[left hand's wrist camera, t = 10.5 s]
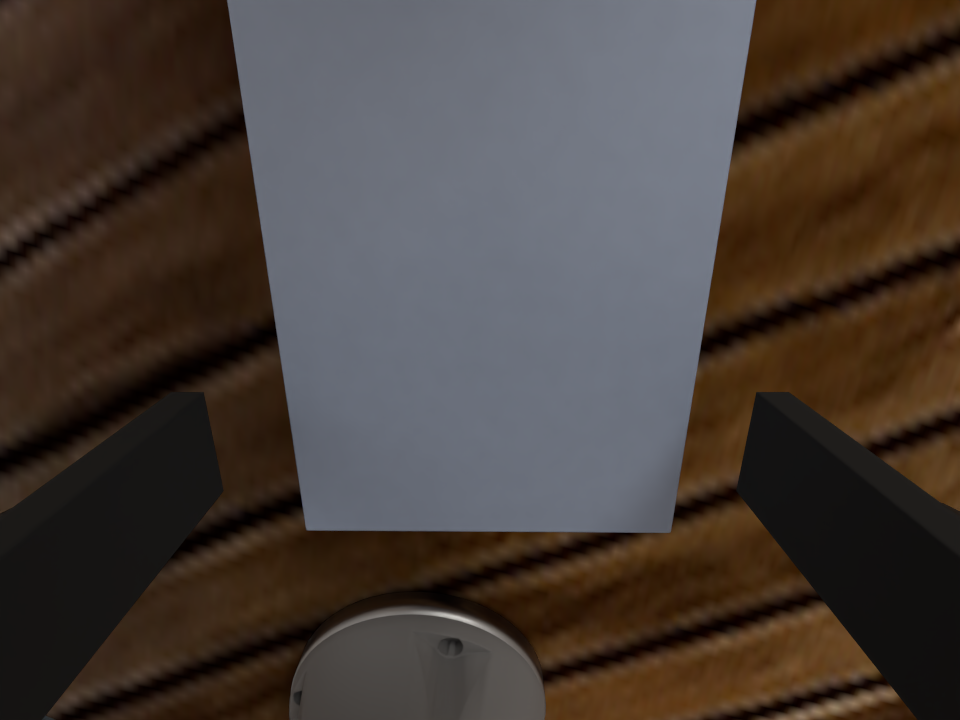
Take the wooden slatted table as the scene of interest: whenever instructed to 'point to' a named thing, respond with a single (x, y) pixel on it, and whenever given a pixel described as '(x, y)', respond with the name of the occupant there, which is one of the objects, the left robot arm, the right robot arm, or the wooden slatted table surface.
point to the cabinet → (490, 249)
